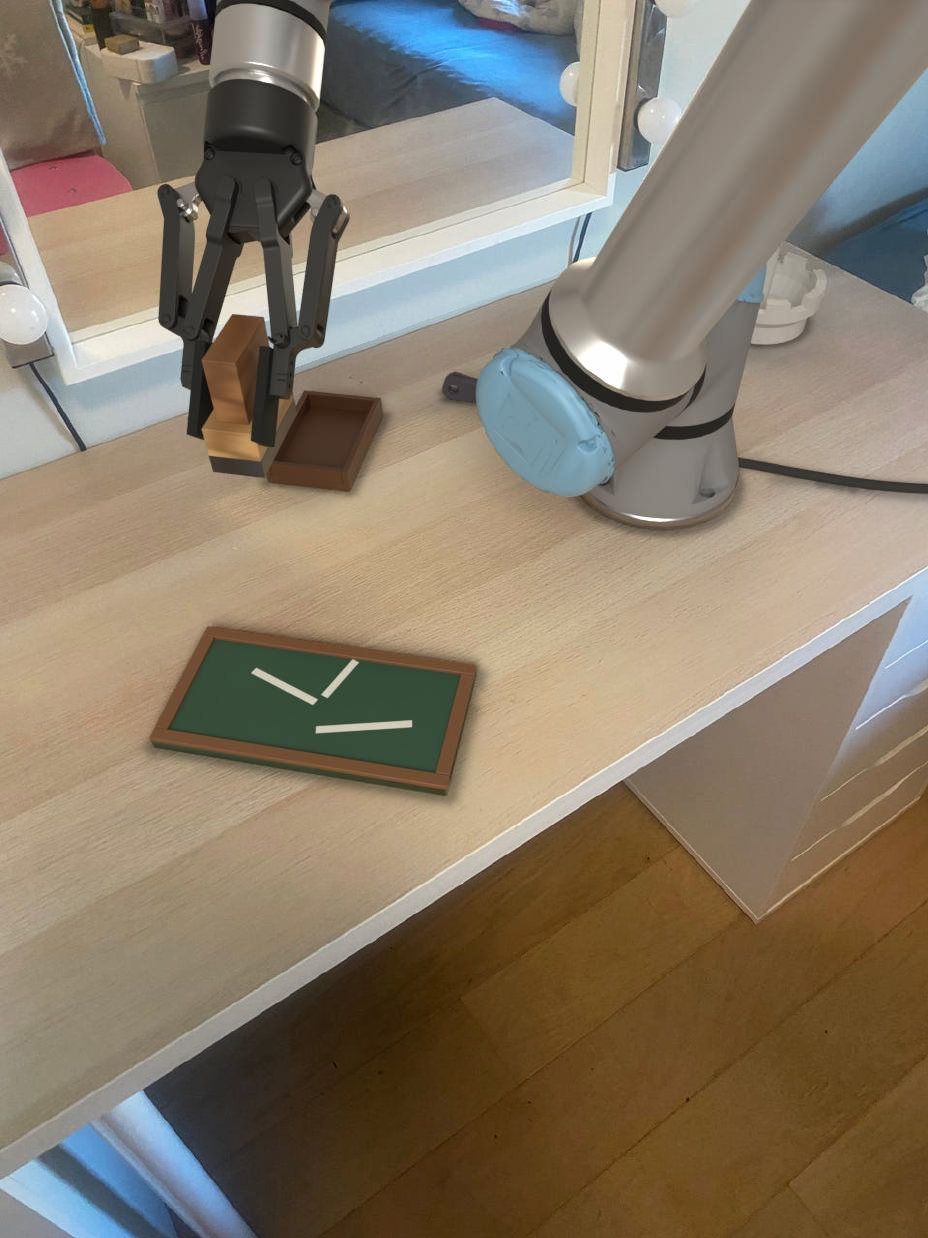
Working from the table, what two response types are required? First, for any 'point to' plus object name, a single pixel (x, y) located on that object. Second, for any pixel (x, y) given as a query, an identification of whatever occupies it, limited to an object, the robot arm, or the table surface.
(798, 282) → the flag stand
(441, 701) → the chalkboard
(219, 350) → the eraser
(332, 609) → the table surface
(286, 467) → the shallow brown tray
